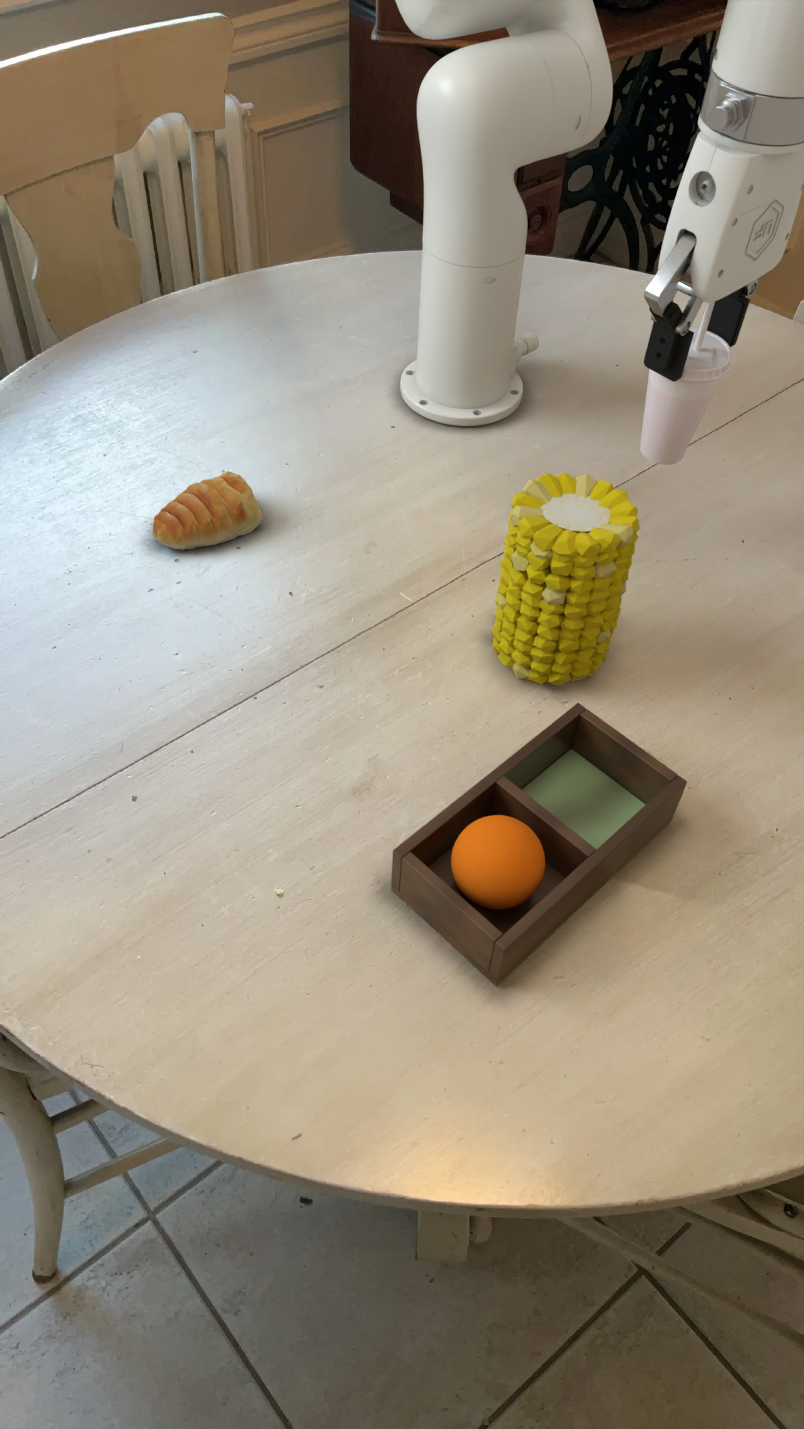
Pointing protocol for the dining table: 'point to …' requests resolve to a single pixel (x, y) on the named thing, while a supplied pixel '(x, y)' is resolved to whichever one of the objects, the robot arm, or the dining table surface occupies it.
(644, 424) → the smoothie
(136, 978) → the dining table surface
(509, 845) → the clementine
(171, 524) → the pastry
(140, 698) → the dining table surface
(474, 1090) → the dining table surface
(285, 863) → the dining table surface
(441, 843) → the tray
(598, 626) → the food
